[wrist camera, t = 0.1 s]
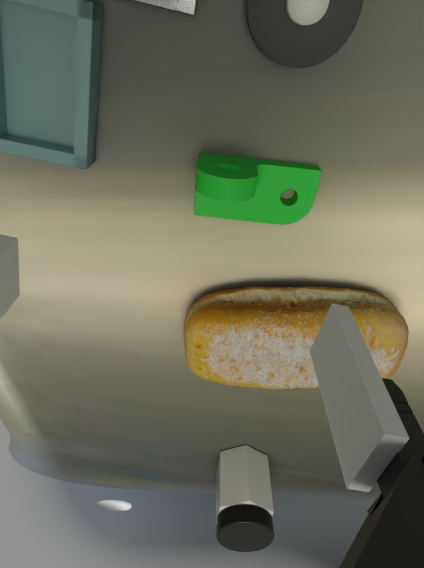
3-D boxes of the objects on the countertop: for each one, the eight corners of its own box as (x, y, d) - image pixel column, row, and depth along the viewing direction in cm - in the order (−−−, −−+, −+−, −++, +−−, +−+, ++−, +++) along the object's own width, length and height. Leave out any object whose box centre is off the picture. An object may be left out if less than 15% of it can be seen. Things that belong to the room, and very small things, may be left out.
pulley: (262, -79, 31) (267, -94, 28) (372, -50, 32) (391, -60, 28) (235, 53, 36) (236, 54, 32) (332, 76, 37) (343, 80, 33)
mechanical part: (195, 207, 44) (190, 239, 37) (200, 151, 41) (195, 174, 34) (304, 220, 44) (319, 253, 37) (317, 165, 41) (336, 190, 34)
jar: (226, 480, 69) (226, 557, 59) (207, 453, 65) (204, 529, 55) (275, 469, 67) (284, 546, 57) (259, 440, 63) (265, 517, 53)
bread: (181, 277, 48) (174, 317, 42) (405, 273, 47) (436, 313, 41) (188, 361, 55) (183, 407, 49) (384, 359, 54) (407, 405, 48)
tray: (-11, -23, 33) (-31, -28, 31) (102, 4, 34) (93, 2, 32) (0, 141, 40) (-15, 148, 38) (94, 161, 41) (86, 169, 39)
